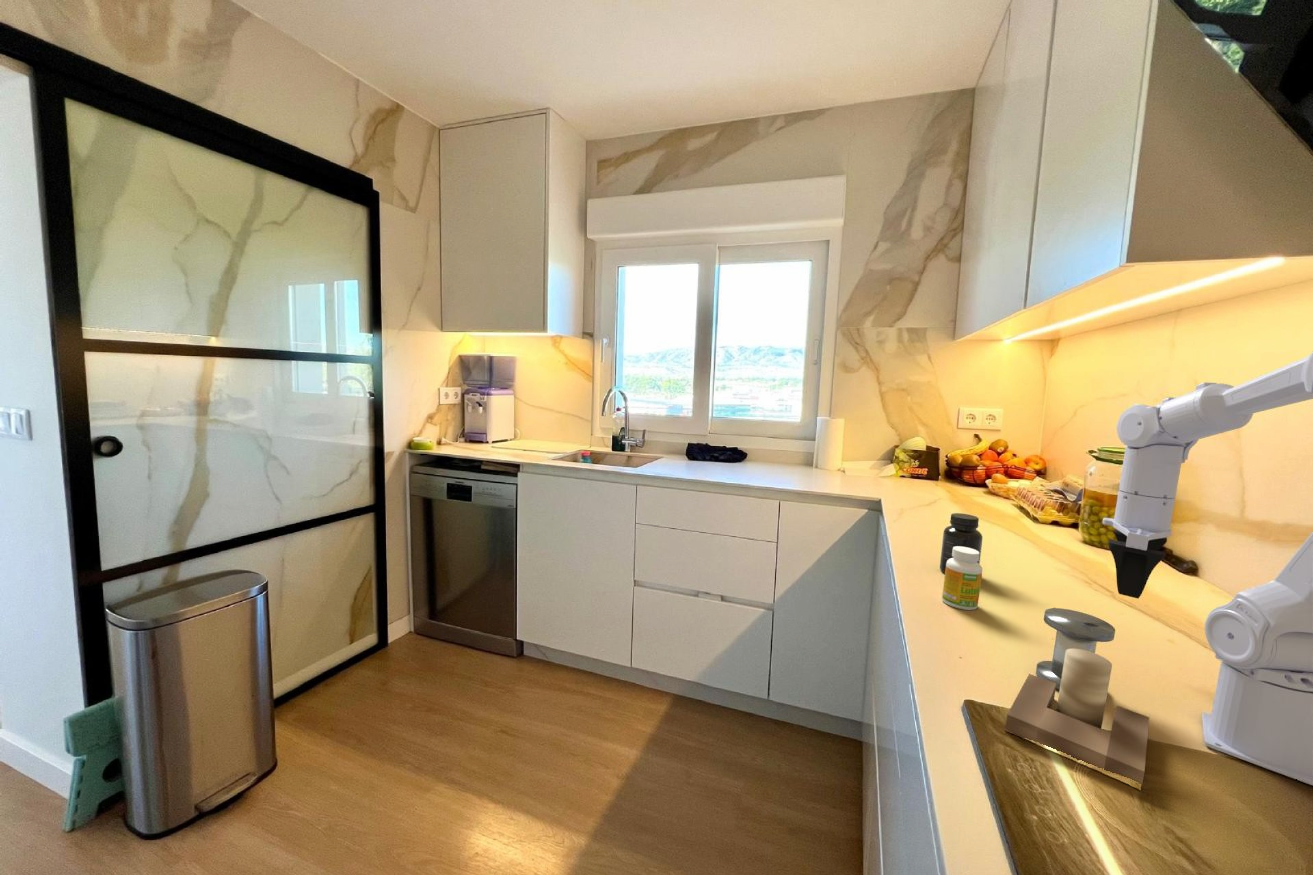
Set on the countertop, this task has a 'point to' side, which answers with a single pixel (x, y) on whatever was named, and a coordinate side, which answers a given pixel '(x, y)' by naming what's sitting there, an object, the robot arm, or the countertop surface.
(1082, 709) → the beige banded cylinder
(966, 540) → the supplement bottle
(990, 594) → the countertop surface
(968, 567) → the supplement bottle
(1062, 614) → the bobbin post
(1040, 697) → the notched board
